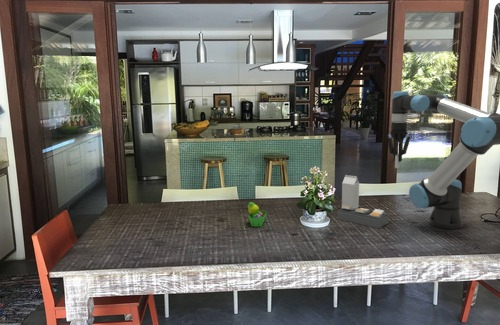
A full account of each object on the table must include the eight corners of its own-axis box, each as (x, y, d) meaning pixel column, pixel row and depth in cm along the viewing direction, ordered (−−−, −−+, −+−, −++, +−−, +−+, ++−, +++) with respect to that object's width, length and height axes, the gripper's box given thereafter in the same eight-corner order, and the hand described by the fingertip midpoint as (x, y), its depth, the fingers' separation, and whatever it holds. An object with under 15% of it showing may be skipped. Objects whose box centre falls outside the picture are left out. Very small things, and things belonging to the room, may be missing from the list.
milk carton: (353, 210, 225) (354, 177, 222) (341, 208, 229) (342, 176, 226) (358, 207, 230) (359, 175, 227) (346, 205, 235) (347, 174, 231)
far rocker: (355, 209, 212) (355, 207, 212) (349, 209, 207) (349, 206, 207) (347, 208, 215) (348, 205, 215) (341, 207, 210) (342, 205, 210)
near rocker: (384, 212, 201) (383, 210, 200) (378, 218, 196) (378, 216, 196) (375, 210, 204) (375, 208, 203) (369, 216, 199) (369, 214, 199)
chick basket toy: (263, 227, 199) (263, 205, 197) (245, 226, 201) (245, 205, 199) (267, 220, 210) (266, 199, 208) (250, 219, 212) (250, 199, 210)
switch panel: (387, 223, 202) (388, 213, 201) (378, 228, 195) (379, 218, 194) (347, 214, 218) (347, 205, 217) (337, 218, 211) (337, 209, 210)
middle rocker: (369, 211, 206) (369, 209, 206) (363, 213, 202) (363, 210, 202) (361, 210, 209) (361, 207, 209) (355, 211, 205) (355, 208, 204)
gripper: (415, 122, 203) (412, 168, 207) (390, 121, 211) (388, 165, 215) (409, 122, 197) (406, 170, 201) (383, 122, 206) (382, 167, 210)
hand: (397, 167), depth 208 cm, fingers closed
